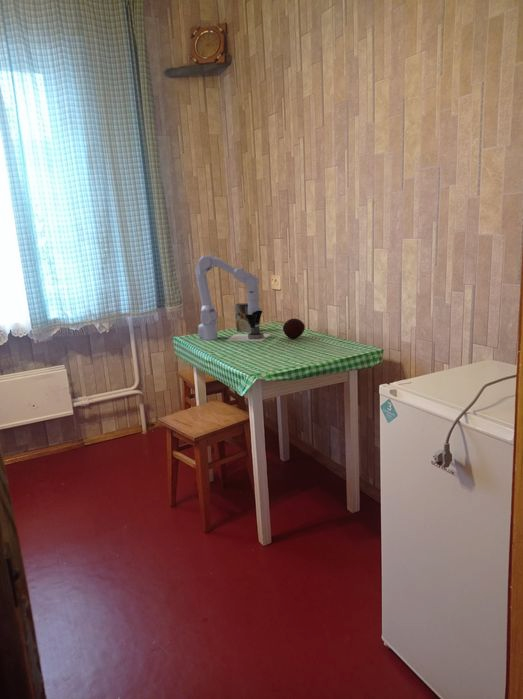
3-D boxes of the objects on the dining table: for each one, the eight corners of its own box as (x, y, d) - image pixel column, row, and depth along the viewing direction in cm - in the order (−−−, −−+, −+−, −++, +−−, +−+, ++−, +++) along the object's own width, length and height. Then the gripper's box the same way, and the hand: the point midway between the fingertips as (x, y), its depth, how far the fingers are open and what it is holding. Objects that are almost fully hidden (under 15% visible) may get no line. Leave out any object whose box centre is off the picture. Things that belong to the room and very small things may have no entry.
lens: (250, 338, 263) (249, 325, 262) (252, 336, 268) (252, 323, 266) (258, 338, 262) (257, 325, 260) (261, 336, 266) (260, 323, 265)
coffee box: (255, 331, 288) (253, 302, 284) (252, 333, 282) (250, 304, 278) (240, 331, 290) (238, 303, 287) (236, 333, 284) (234, 304, 281)
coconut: (307, 335, 267) (306, 315, 265) (302, 341, 255) (301, 320, 252) (286, 335, 270) (285, 316, 268) (280, 341, 257) (279, 320, 255)
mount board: (224, 342, 263) (224, 336, 262) (235, 336, 278) (234, 330, 277) (262, 342, 257) (262, 336, 256) (270, 336, 272) (270, 330, 271)
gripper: (256, 301, 252) (258, 328, 256) (264, 297, 266) (266, 323, 269) (243, 302, 255) (244, 329, 258) (251, 298, 268) (253, 323, 271)
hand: (254, 326), depth 263 cm, fingers open, 7 cm apart
